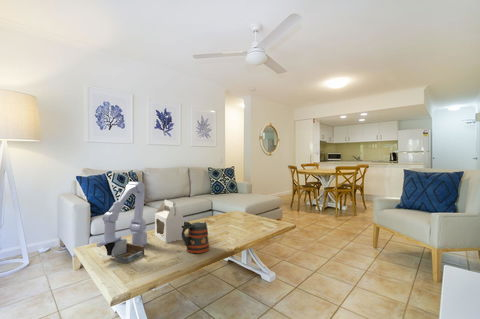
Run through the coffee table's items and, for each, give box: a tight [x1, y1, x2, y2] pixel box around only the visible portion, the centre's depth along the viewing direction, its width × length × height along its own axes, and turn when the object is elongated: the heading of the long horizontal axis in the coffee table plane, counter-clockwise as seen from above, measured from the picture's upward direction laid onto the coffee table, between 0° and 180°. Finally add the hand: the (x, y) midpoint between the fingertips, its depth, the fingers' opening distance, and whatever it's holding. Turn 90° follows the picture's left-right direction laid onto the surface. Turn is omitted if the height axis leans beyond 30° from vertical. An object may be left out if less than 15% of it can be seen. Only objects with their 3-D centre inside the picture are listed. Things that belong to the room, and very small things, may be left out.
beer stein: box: [182, 221, 210, 254], centre depth 147 cm, size 19×15×20 cm
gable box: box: [154, 199, 184, 244], centre depth 172 cm, size 22×13×28 cm, turn 40°
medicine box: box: [111, 237, 128, 257], centre depth 140 cm, size 8×4×9 cm, turn 143°
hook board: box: [114, 242, 145, 264], centre depth 137 cm, size 13×21×5 cm, turn 67°
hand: (109, 255), depth 134 cm, fingers closed
